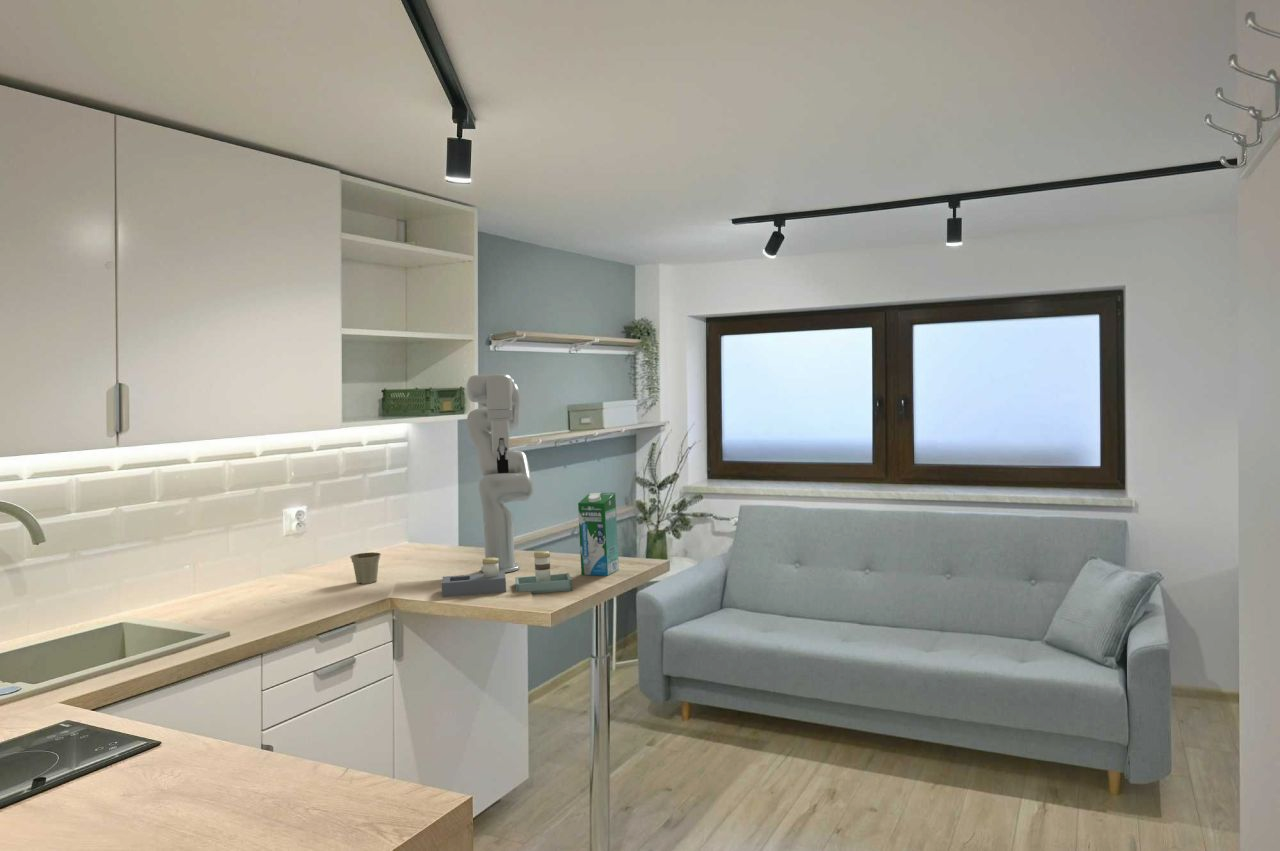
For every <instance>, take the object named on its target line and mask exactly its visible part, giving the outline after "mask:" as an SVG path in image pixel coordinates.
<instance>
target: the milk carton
mask: <svg viewBox="0 0 1280 851" xmlns="http://www.w3.org/2000/svg"><path fill="white" fill-rule="evenodd" d="M616 499H617V498H616V492H589V493H588V494H587V495H585V497H583V499H581V500H580V501H578V503H577V505H578V507H577V508H578V510H577V511H578V526H579V527H578V528H579V547H580V552H579V553H580V571H581V572H580V573H581V574H580V575H582V576H604V577H608V576H609V575H612V574H613V573H615V572H617V571H619V549H618V547H619V546H618V524H617V504H616Z"/></svg>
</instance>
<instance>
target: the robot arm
mask: <svg viewBox="0 0 1280 851" xmlns="http://www.w3.org/2000/svg"><path fill="white" fill-rule="evenodd" d="M466 394H467V397H468V399H469V401H470V402H472V403H478V404H479V405H480V406H482V407H480V408H479V407H478V408H476V409H473V410H470V412H468V414H467V419H466V426H467V429H468V430H467V431H468V435H469V437H470V439H471V442H472V443H473V445H474V446H475V448H476V450H477V456H478V462H479V468H480V471H481V474H482V477H481V478H480V480H479V482H478V492H479V496H480V501H481V507H482V509H481V510H482V519H483V522H482V524H483V541H484V543H483V544H484V559H485V558H498V559H499V562H498V566H499V572H505V574H506V573H512V572H515V571H518V570H519V569H520V568H521V567H520V566H521V565H520V564H519V563H517V562H516V560H515V559H516V558H515V557H516V556H515V540H514V537H515V536H514V521H513V520H514V519H513V518H514V517H513V514H512V512H511V511H510V510H509V509H508V508H507V507H506V506H505V505H504V504H506V503H507V504H508V503H516V502H525V501H528V500H530V499H531V498H532V496H533V495H534V484H533V479H532V474H531V470H530V465H529V460H528V457H527V455H526V453H525V452H523V451H522V450H517V449H516V450H510V431H511V432H512V431H515V430H516V429H517V428H518V426H519V418H520V402H521V400H520V399H521V398H520V395H521V394H520V390H519V387H518V384H516V383H515V380H514V378H512V377H511V375H509V374H503V373H500V374H476V375H471V376H469V378H468V379H467V382H466ZM480 570H481V573H484V572H483V565H482V566H481V567H480Z"/></svg>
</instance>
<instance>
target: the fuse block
mask: <svg viewBox="0 0 1280 851" xmlns="http://www.w3.org/2000/svg"><path fill="white" fill-rule="evenodd" d="M498 562H499V559H498V558H485V557H484V558H483V559H482V566H483V572H482V573H476V574H475V573H474V574H473V573H472V574H461V575H450V576H442V580H441V596H442V598H450V597H453V598H454V597H463V596H464V597H465V596H474V595H475V596H477V595H487V594H489V595H490V594H500V593H501V594H502V593H507V582H506V580H507V579H506V573H505V572H499V566H498Z"/></svg>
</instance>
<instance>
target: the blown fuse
mask: <svg viewBox="0 0 1280 851" xmlns="http://www.w3.org/2000/svg"><path fill="white" fill-rule="evenodd" d="M550 557H551V551H549V550H540V551H539V550H538V551H535V552H533V558H534V571H535V572H534V573H535V574H534V576H536V582H548V581H551V575H552V574H551V559H550Z"/></svg>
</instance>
